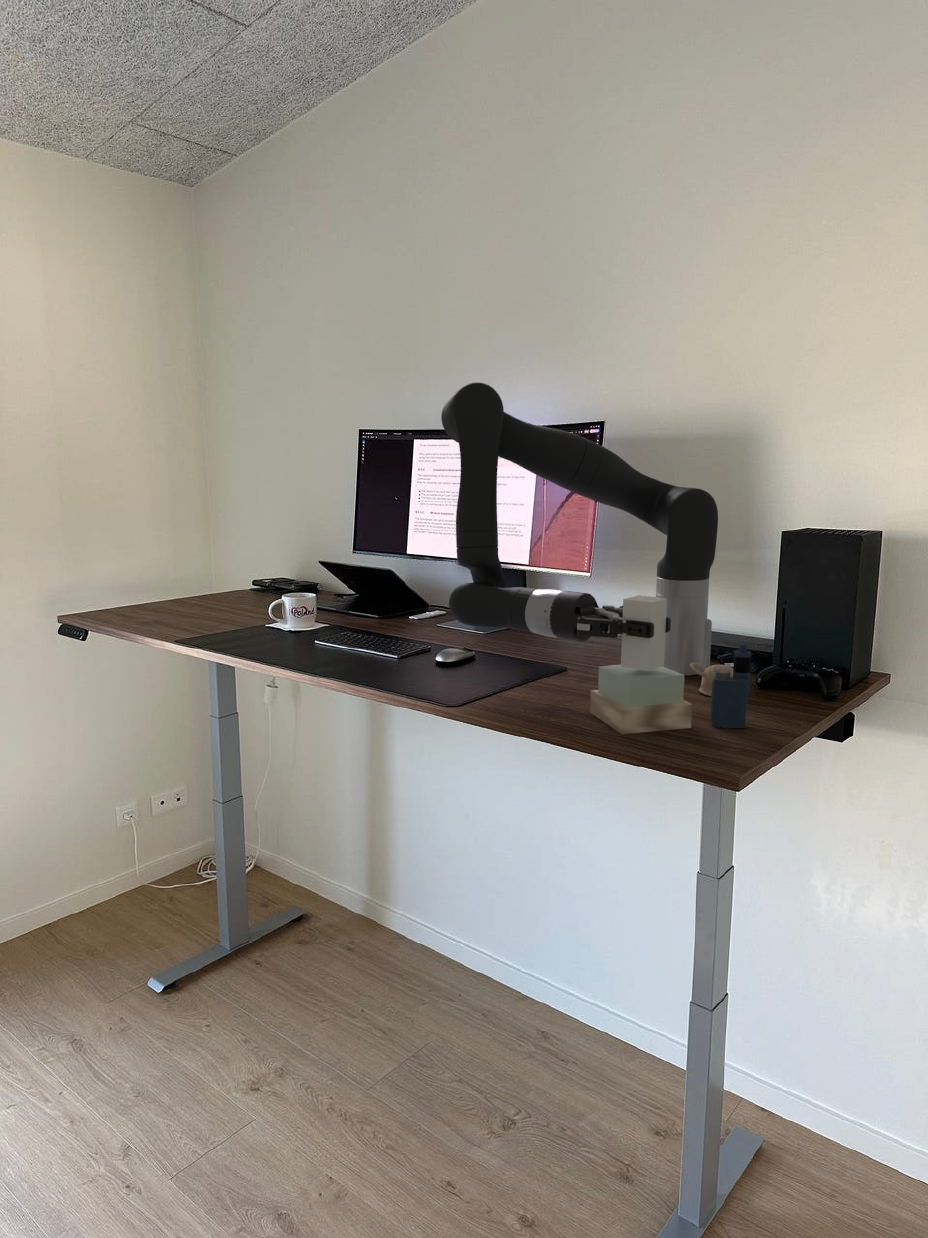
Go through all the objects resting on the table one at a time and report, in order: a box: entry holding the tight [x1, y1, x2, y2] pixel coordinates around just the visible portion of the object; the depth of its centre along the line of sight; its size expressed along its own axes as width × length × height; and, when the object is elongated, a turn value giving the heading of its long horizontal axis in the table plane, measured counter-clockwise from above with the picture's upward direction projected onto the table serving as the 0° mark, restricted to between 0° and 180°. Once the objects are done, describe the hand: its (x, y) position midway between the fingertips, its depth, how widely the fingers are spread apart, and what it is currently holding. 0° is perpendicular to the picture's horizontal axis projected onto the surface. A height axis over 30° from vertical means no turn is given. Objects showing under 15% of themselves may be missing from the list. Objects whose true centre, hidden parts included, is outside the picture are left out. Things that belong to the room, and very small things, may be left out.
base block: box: [589, 689, 693, 735], centre depth 126 cm, size 11×11×4 cm
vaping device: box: [709, 644, 752, 729], centre depth 122 cm, size 3×5×12 cm, turn 79°
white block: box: [620, 594, 667, 671], centre depth 124 cm, size 5×5×10 cm
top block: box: [597, 663, 685, 708], centre depth 126 cm, size 9×9×4 cm
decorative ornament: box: [690, 662, 733, 697], centre depth 139 cm, size 4×8×5 cm, turn 73°
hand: (660, 627), depth 122 cm, fingers closed on white block, 4 cm apart
